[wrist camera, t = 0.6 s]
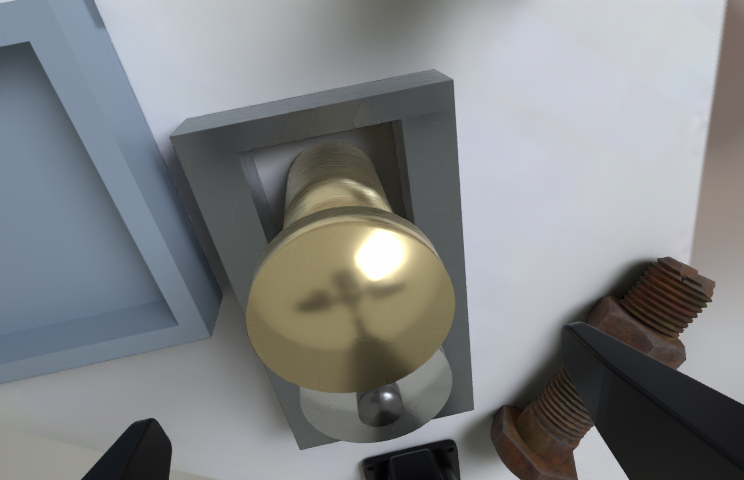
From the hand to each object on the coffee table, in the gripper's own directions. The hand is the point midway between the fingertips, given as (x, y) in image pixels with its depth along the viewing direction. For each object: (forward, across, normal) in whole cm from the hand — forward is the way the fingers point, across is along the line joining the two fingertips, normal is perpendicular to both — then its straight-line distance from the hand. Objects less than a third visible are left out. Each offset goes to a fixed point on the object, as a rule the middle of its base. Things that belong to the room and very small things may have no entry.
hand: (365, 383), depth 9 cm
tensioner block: (+11, 0, +5) cm, 12 cm away
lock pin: (+11, 0, 0) cm, 11 cm away
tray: (+11, +13, -2) cm, 17 cm away
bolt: (+12, -13, +14) cm, 22 cm away
